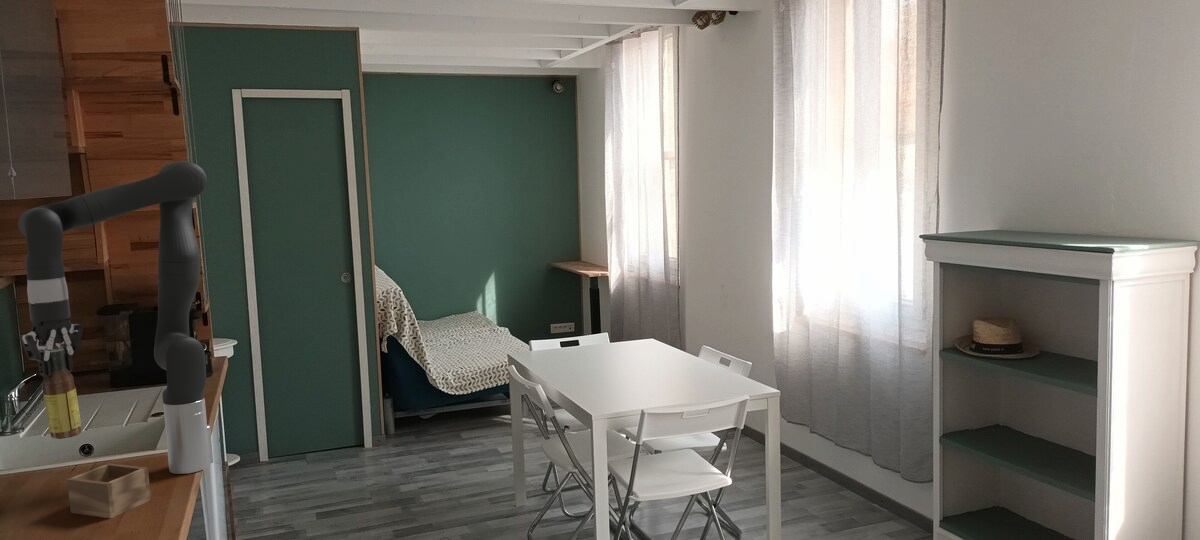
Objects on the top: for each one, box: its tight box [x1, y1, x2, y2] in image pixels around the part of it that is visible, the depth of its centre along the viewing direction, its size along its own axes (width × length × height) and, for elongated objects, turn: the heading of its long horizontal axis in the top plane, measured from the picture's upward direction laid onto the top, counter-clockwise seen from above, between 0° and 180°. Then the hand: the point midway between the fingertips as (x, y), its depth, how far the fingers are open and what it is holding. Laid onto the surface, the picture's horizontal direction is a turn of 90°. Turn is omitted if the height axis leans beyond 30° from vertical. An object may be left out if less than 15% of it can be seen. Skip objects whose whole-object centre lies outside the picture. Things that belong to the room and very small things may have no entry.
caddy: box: [66, 462, 152, 519], centre depth 191 cm, size 10×12×8 cm
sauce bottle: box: [42, 347, 82, 440], centre depth 195 cm, size 7×6×20 cm
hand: (57, 373), depth 194 cm, fingers closed on sauce bottle, 4 cm apart
